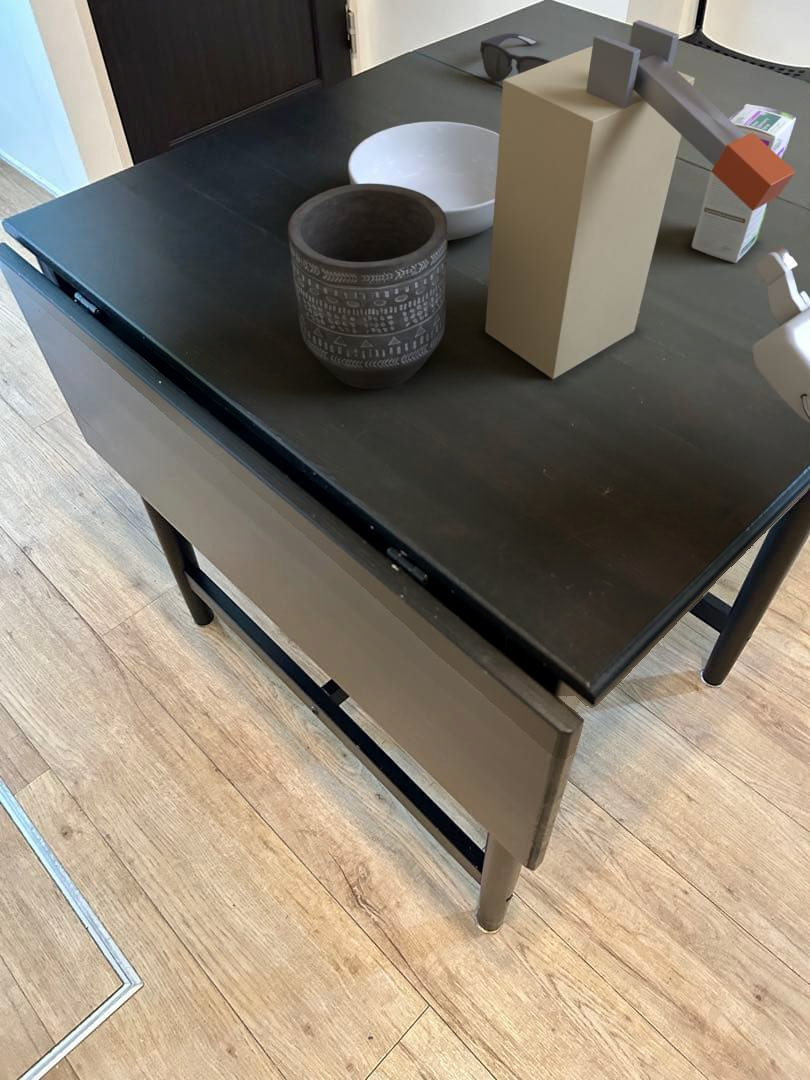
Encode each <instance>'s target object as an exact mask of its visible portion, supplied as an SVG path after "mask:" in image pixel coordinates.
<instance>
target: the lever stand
mask: <svg viewBox="0 0 810 1080" xmlns="http://www.w3.org/2000/svg"><path fill="white" fill-rule="evenodd" d="M679 38H680V34H679V33H675V32H673V31H671V30H667V29H665V28H662V27H659V26H658V25H654V24H651V23H648V22H646V21H643V20H641V19H638V20H636V21H633V22H632V26H631V32H630V38H629V43H628V44H627V43H624V42H622V41H619V40H616V39H614V38H611V37H609V36H606V35H604V34H598V35H595V36H594V37H593V41H592V45H591V46H589V47H586V48H583V49H581V50H577V51H576V52H573V53H570V54H567V55H565V56H562V57H560V58H557V59H555V60H551V61H552V62H549V63H546V64H544V65H541V66H538V67H536V68H533V69H531V70H528V71H525V72H523V73H520V74H518V73H517V74H515V75H512V76H510V77H506V78H505V79H503V80H502V92H501V107H500V120H499V133H498V134H499V147H498V161H497V175H496V189H495V203H494V217H493V226H492V233H491V244H490V245H491V247H490V259H489V263H490V264H489V273H488V274H489V275H488V276H489V277H488V287H487V301H486V302H487V303H486V316H485V317H486V318H485V330H484V332H485V333H486V334H488V335H489V336H491V337H492V338H493V339H495V340H496V341H498V342H499V343H501V344H502V345H503V346H504V347H506V348H507V349H509V350H510V351H512V352H513V353H515V354H516V355H517V356H519V357H521V358H522V359H523V360H525V361H526V362H528V363H529V364H530V365H532V366H534V367H535V368H536V369H537V370H539V371H540V372H542V373H543V374H545V375H546V376H547V377H549V378H550V379H552V380H554V379H556V378H558V377H559V376H561V375H563V374H564V373H567V372H568V371H570V370H571V369H573V368H575V367H576V366H578V365H580V364H582V363H584V362H585V361H587V360H589V359H590V358H592V357H594V356H595V355H598V354H599V353H601V352H602V351H604V350H605V349H607V348H609V347H610V346H612V345H614V344H615V343H617V342H619V341H621V340H622V339H624V338H625V337H627V336H629V335H631V334H633V333H634V332H635V331H636V330H635V329H636V326H637V321H638V317H639V313H640V309H641V305H642V300H643V297H644V292H645V288H646V284H647V279H648V275H649V272H650V267H651V263H652V258H653V255H654V251H655V246H656V243H657V238H658V233H659V230H660V226H661V222H662V217H663V213H664V208H665V204H666V201H667V196H668V192H669V188H670V184H671V179H672V176H673V171H674V168H675V163H676V158H677V154H678V150H679V146H680V142H681V138H682V135H681V134H680V133H679V132H678V131H677V130H676V129H675V128H674V127H672V126H671V125H670V124H669V123H668V122H667V121H666V120H665V119H664V118H663V117H662V116H661V115H660V114H659V113H658V112H657V111H656V110H655V109H653V108H652V107H651V106H650V105H649V104H648V103H647V102H646V101H645V100H644V99H643V98H642V97H641V96H640V95H639V94H638V93H637V92H636V91H635V90H633V89H634V83H635V78H636V73H637V67H638V62H639V60H641V59H644V58H646V57H649V56H651V55H654V54H656V53H657V54H659V55H660V56H661V57H662V58H663V59H664V60H665V61H666V62H667V63H668V64H670V65H671V66H672V67H674V66H673V65H674V61H675V57H676V52H677V47H678V43H679ZM676 71H677V72H678V73H679V74H680V75H681V76H683V77H684V78H685V79H686V80H687V81H688V82H689V83H690V84H691V85H692V86H693V87H694V83H695V77H693V76H691V75H689V74H686V73H683V72H681V71H678V70H676Z"/></svg>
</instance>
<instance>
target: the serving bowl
mask: <svg viewBox="0 0 810 1080" xmlns="http://www.w3.org/2000/svg"><path fill="white" fill-rule="evenodd" d="M498 147H499V133H498V132H495V131H493V130H490V129H487V128H484V127H481V126H477V125H474V124H473V125H472V124H467V123H463V122H454V121H420V122H411V123H405V124H400V125H396V126H393V127H389V128H386V129H383V130H381V131H378V132H376V133H374V134H372V135H370V136H369V137H366V138H365V139H364V140H362V141H361V142H360V143H359V144H358V145H357V146H356V147H355V148H354V149H353V150H352V151H351V154H350V156H349V158H348V162H347V172H348V177H349V181H350V185H352V184H366V183H372V184H386V185H394V186H399V187H403V188H407V189H411V190H414V191H417V192H420V193H422V194H424V195H426V196H427V197H429V198H430V199H432V200H433V201H434V202H436V203H437V204H438V205H439V206H440V208H441V209H442V210H443V212H444V214H445V216H446V220H447V241H453V240H459V239H464V238H469V237H473V236H474V235H478V234H480V233H482V232H485V231H486V230H489V229H490V228H493V217H494V203H495V189H496V175H497V161H498Z"/></svg>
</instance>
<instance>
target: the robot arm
mask: <svg viewBox="0 0 810 1080" xmlns="http://www.w3.org/2000/svg"><path fill="white" fill-rule="evenodd" d="M797 266H798V263H797V262H796V260H795V259H794V257H793V256H791V255H790V252H789V250H788V249H787V248H786V247H784V246H779V247H777V248H776V249H774V250H772V251H770V252H769V253H767V254H766V255H765V256H764V257H762V258H761V259H760V260H759V261H757V263H756V264H755V271H756V272H757V273H758V274H759V276H760V277H761V279H762V281H763V282H764V283H765V285H766V291H767V297H768V298H767V299H768V304H769V305H768V306H769V311H770V315H771V316H772V317H773V319H774V320H775V321H776V323H777V324H778V325H779V326H778V327H777V328H775V329H774V330H772V331H771V332H769V333H768V334H766V335H765V336H764V337H762V338H761V339H760V340H758V341H757V342H755V343H754V344H753V346H752V359H753V363H754V366H755V367H756V369H757V371H758V372H759V373H760V375H762V377H763V379H765V381H766V382H767V383H768V384H769V386H771V388H772V389H773V390H774V391H775V392H776V393H777V395H778V396H779V397H780V398H781V399H782V400H783V402H785V403H786V405H788V407H790V408H791V410H792V411H794V413H796V415H798V416H799V417H800V418H801V419H803V420H804V421H806V422H808V423H809V424H810V296H809V295H808V293H807V292H806V291H805V290H802V291H801V292H799V290H798V288H797V283H796V281H795V277H794V273H793V269H794V268H795V267H797Z"/></svg>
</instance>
